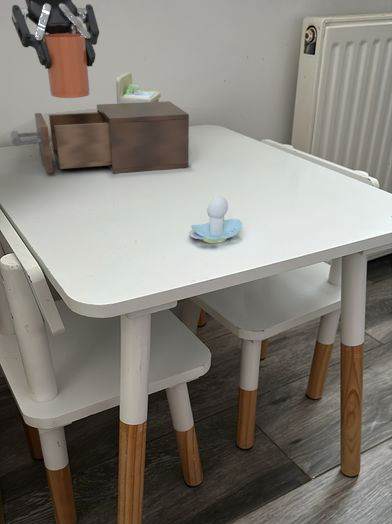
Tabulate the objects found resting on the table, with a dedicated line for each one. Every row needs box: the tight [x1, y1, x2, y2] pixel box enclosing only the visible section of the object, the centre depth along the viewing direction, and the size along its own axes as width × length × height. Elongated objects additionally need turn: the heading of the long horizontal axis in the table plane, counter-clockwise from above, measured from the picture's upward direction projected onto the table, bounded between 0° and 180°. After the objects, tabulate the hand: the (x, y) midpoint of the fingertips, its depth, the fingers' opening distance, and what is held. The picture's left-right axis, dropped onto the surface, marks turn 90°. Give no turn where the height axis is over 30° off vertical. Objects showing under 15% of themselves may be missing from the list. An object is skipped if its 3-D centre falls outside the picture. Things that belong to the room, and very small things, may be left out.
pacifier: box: [188, 196, 243, 244], centre depth 77 cm, size 7×6×6 cm
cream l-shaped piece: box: [115, 72, 162, 104], centre depth 119 cm, size 8×7×13 cm
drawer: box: [10, 111, 112, 174], centre depth 103 cm, size 18×11×8 cm, turn 108°
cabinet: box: [96, 100, 190, 174], centre depth 107 cm, size 15×13×10 cm
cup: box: [44, 33, 90, 99], centre depth 95 cm, size 7×7×9 cm
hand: (70, 64), depth 93 cm, fingers closed on cup, 6 cm apart
